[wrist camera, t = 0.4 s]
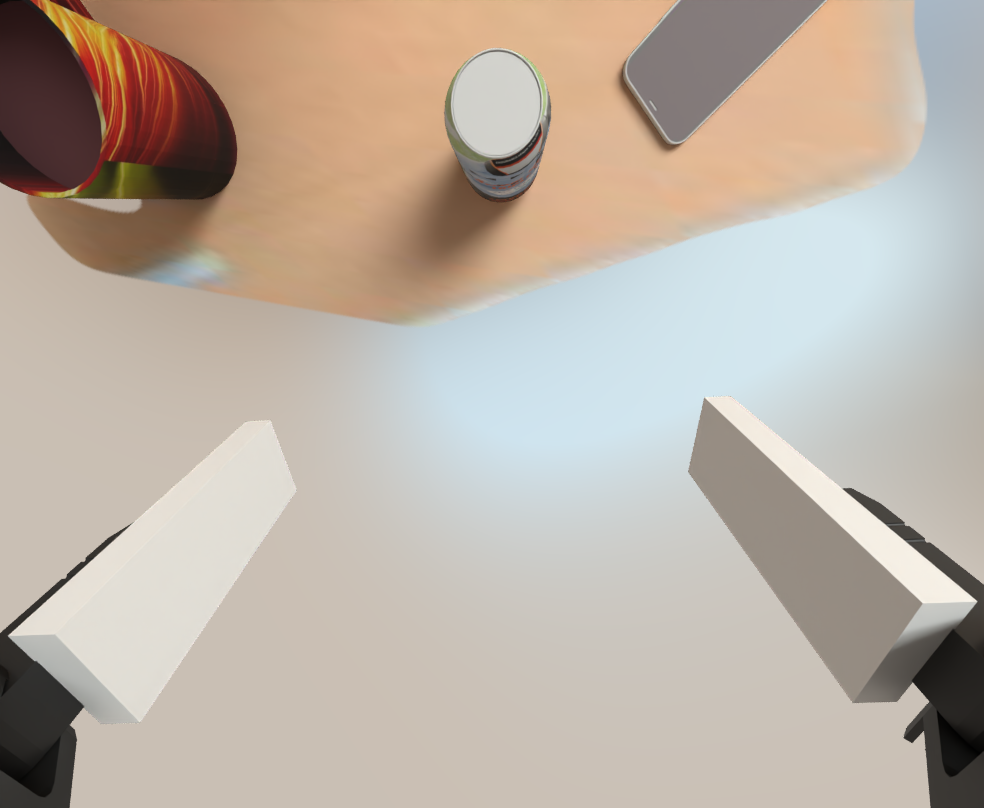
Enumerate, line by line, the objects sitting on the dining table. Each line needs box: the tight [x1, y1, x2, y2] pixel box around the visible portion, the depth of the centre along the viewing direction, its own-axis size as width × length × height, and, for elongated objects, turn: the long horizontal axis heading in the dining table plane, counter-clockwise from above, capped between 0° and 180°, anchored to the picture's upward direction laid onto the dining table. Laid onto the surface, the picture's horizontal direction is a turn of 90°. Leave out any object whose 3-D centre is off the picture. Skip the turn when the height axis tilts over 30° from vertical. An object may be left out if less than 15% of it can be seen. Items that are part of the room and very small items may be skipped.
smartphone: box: [623, 0, 827, 145], centre depth 28 cm, size 7×1×15 cm
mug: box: [0, 0, 237, 199], centre depth 25 cm, size 10×14×12 cm
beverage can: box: [444, 48, 551, 202], centre depth 26 cm, size 6×7×12 cm
